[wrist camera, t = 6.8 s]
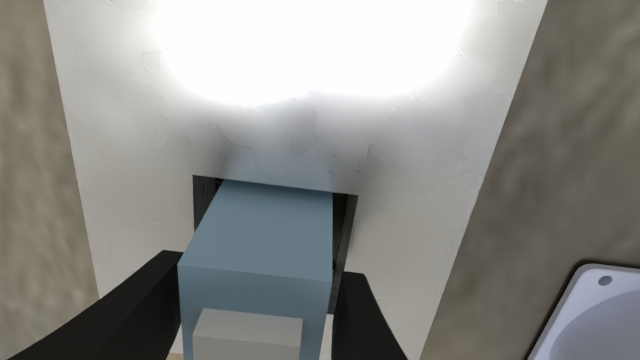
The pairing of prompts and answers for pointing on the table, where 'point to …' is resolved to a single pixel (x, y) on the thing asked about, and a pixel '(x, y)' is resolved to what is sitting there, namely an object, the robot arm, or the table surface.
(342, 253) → the grey socket board
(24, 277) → the table surface
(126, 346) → the robot arm
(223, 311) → the plug
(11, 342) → the table surface
